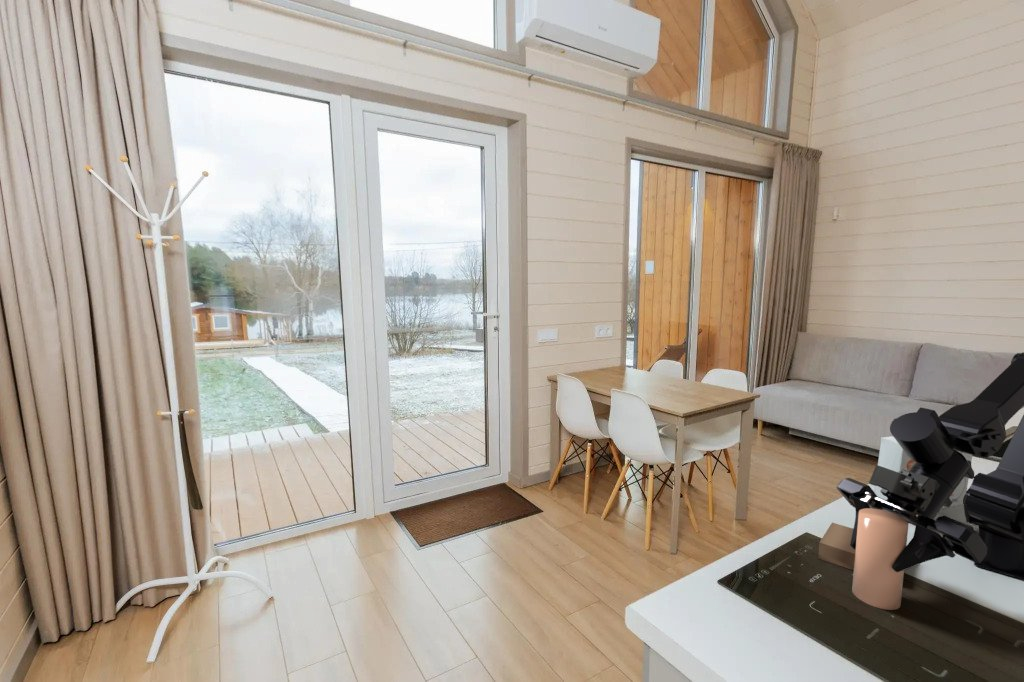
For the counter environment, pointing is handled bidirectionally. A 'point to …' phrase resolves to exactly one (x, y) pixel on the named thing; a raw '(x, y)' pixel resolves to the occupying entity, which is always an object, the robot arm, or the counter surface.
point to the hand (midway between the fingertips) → (872, 558)
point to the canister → (879, 558)
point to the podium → (837, 546)
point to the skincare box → (898, 460)
